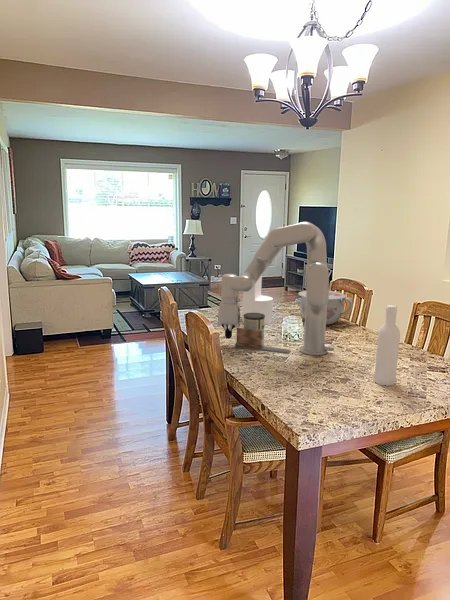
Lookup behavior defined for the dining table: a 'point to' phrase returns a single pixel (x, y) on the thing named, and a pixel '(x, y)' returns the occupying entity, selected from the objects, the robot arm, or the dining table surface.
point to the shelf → (249, 337)
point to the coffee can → (254, 322)
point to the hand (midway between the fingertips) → (228, 337)
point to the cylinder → (257, 302)
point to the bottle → (387, 349)
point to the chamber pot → (329, 306)
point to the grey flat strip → (267, 349)
